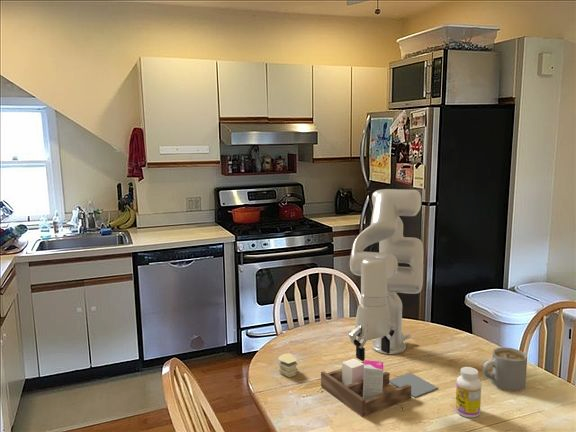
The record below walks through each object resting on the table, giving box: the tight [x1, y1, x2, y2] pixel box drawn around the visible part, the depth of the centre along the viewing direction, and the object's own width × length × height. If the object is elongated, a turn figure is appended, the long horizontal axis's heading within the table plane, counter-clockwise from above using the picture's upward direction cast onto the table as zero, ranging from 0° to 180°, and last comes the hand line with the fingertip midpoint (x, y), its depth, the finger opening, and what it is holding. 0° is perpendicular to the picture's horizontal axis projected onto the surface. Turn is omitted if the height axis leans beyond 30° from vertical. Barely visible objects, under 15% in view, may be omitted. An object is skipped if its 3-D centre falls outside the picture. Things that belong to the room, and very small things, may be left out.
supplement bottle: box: [455, 366, 482, 419], centre depth 138 cm, size 7×7×13 cm
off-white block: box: [341, 357, 364, 386], centre depth 154 cm, size 5×5×8 cm
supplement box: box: [362, 359, 384, 400], centre depth 145 cm, size 6×6×12 cm
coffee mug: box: [482, 346, 528, 392], centre depth 154 cm, size 13×10×10 cm
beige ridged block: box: [277, 352, 299, 378], centre depth 164 cm, size 10×9×6 cm
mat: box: [389, 372, 439, 399], centre depth 155 cm, size 10×12×1 cm
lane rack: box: [320, 360, 412, 418], centre depth 150 cm, size 19×20×5 cm
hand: (373, 355), depth 143 cm, fingers open, 9 cm apart
